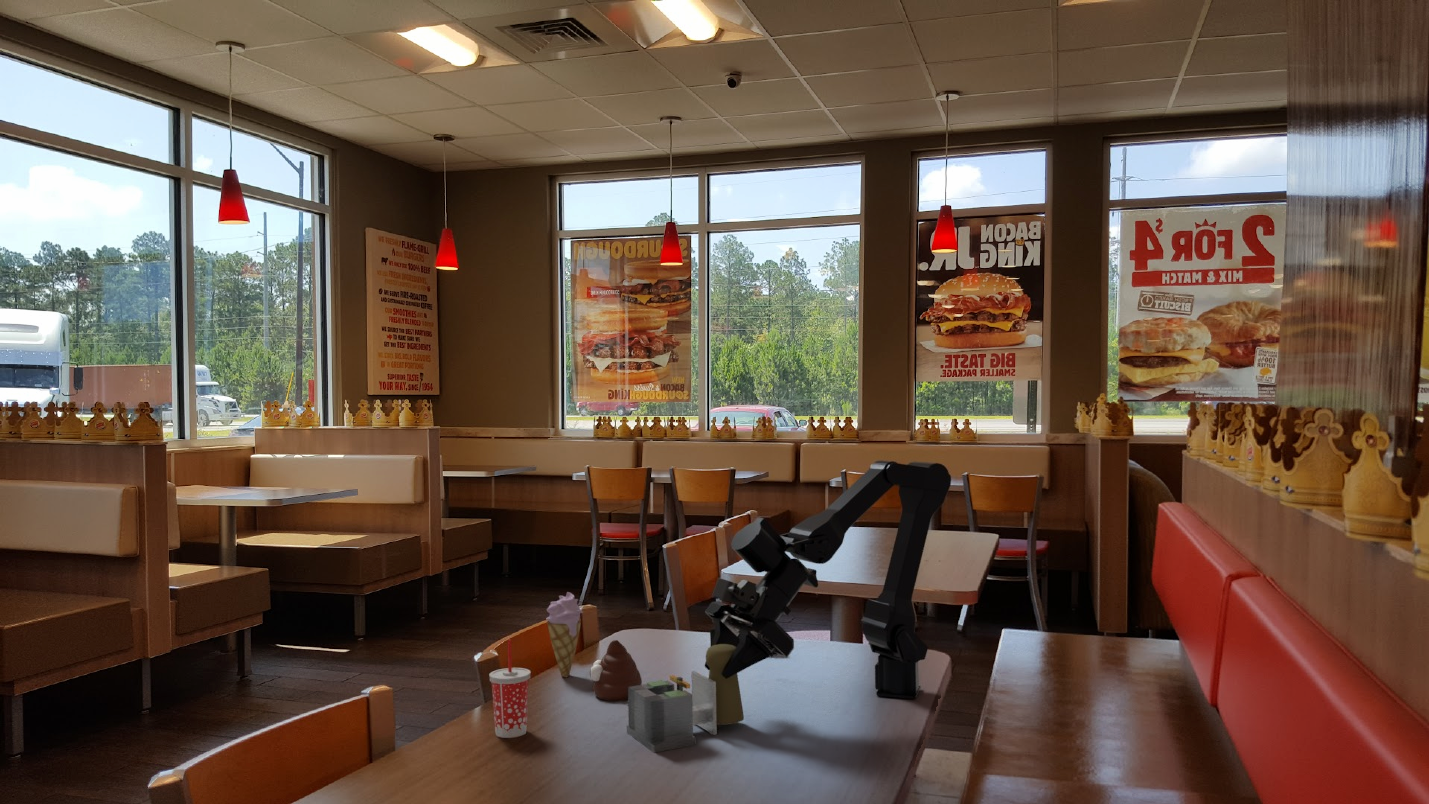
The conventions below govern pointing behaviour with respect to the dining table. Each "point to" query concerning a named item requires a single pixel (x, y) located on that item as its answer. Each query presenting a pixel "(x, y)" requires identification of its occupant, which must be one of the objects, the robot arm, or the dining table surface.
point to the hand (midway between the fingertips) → (715, 672)
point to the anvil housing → (660, 716)
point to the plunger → (701, 700)
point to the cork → (724, 685)
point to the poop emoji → (614, 673)
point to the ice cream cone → (564, 630)
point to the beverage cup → (510, 699)
